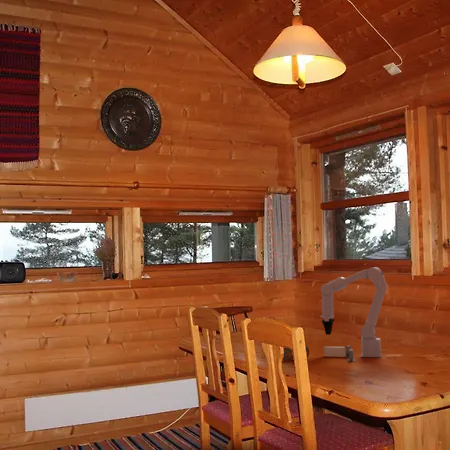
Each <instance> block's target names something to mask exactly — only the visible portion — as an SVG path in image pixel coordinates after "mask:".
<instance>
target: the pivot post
mask: <svg viewBox="0 0 450 450" xmlns="http://www.w3.org/2000/svg"><path fill="white" fill-rule="evenodd" d="M350 349H352V347H351V345H349V344H348V345H345V357H344V358H346V359H347V358H348V359H349V350H350Z"/></svg>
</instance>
